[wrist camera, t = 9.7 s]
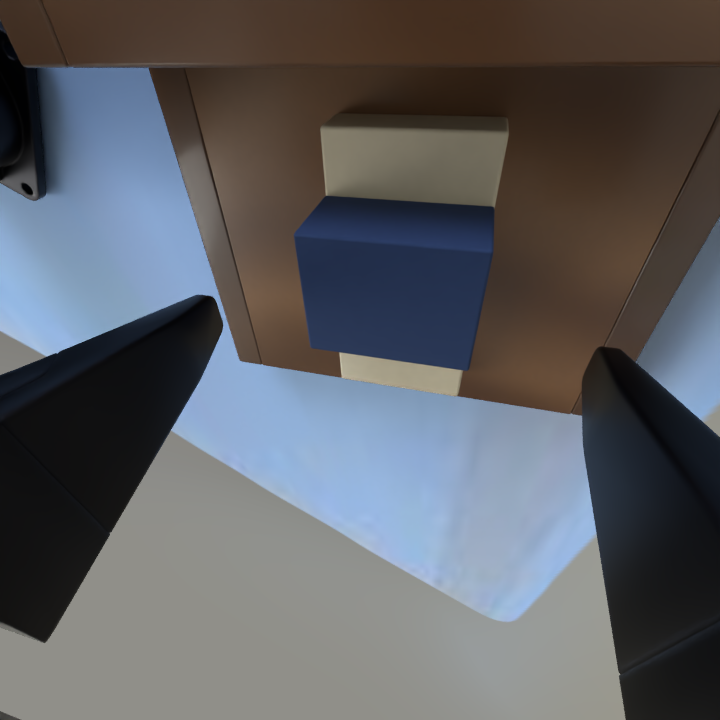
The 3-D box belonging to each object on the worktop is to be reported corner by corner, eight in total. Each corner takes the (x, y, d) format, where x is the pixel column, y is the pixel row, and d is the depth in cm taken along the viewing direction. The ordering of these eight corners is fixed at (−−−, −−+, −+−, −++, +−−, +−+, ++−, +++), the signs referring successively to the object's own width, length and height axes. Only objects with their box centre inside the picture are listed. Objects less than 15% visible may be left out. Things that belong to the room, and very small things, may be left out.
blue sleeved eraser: (460, 370, 16) (452, 452, 14) (350, 354, 17) (321, 427, 14) (508, 116, 10) (511, 166, 7) (335, 112, 11) (279, 156, 8)
